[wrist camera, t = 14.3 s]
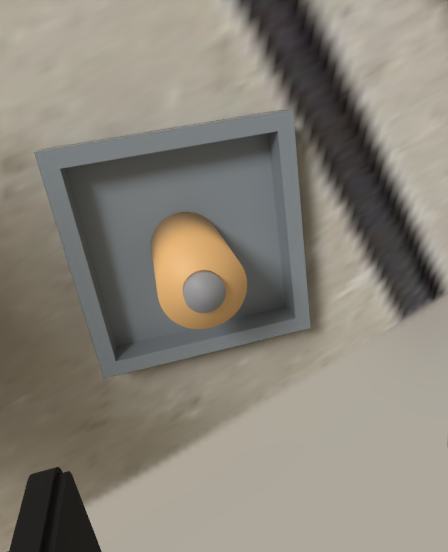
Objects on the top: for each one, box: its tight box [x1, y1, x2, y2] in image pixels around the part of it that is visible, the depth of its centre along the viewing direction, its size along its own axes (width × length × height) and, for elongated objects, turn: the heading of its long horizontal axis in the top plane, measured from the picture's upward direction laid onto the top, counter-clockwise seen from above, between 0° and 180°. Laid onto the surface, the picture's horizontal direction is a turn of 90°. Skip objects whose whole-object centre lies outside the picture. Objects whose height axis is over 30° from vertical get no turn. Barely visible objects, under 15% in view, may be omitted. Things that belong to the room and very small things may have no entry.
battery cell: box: [151, 212, 247, 329], centre depth 23 cm, size 4×4×8 cm
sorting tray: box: [34, 110, 311, 378], centre depth 26 cm, size 14×14×2 cm
